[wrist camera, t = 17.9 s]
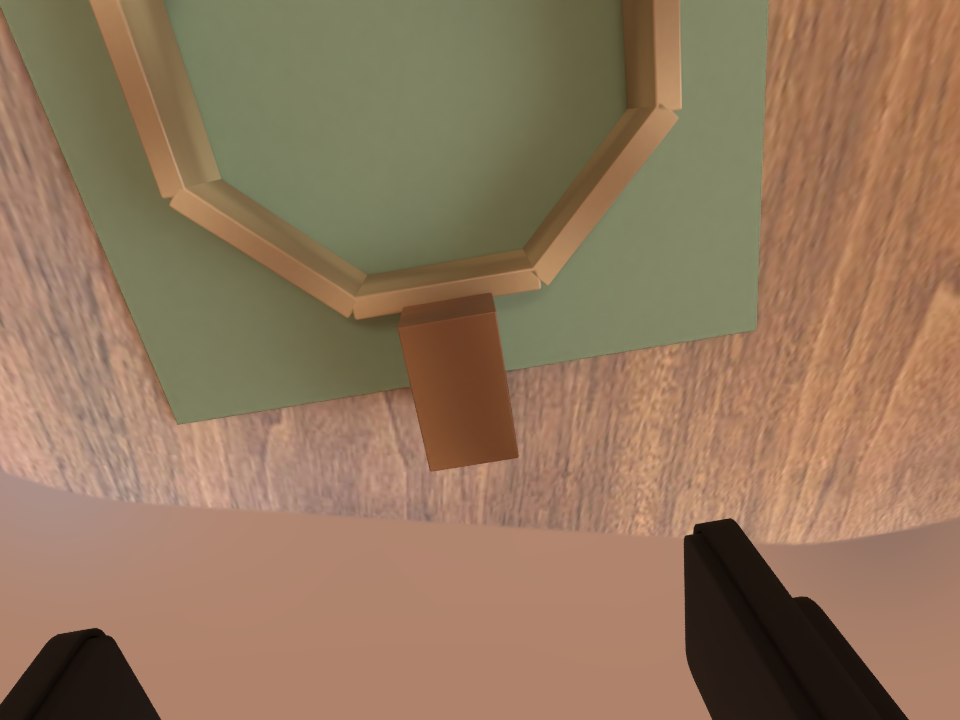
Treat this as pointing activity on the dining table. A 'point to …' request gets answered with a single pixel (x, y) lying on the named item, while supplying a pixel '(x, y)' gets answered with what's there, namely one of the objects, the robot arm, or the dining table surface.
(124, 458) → the dining table surface
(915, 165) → the dining table surface
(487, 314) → the hoop
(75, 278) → the dining table surface
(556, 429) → the dining table surface
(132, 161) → the mat
